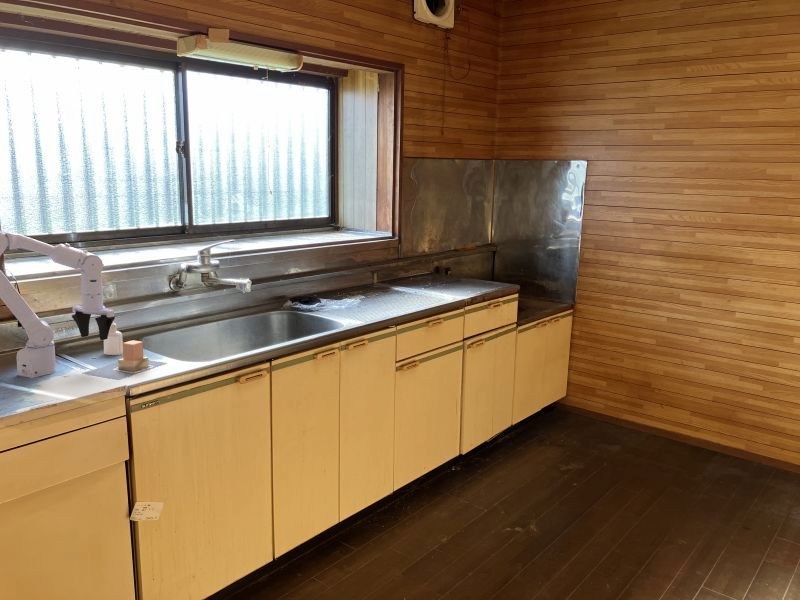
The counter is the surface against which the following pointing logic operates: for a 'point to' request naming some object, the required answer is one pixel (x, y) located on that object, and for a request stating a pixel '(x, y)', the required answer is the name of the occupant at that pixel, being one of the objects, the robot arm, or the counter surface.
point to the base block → (133, 364)
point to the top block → (132, 350)
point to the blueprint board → (119, 371)
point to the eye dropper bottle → (113, 341)
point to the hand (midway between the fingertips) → (94, 337)
